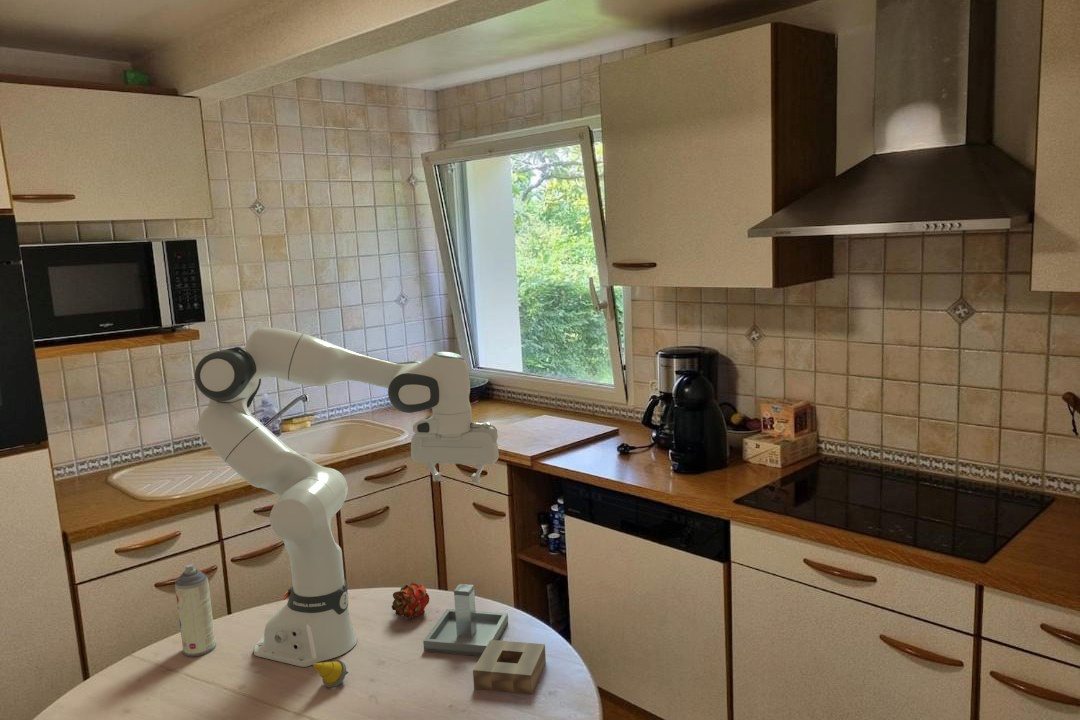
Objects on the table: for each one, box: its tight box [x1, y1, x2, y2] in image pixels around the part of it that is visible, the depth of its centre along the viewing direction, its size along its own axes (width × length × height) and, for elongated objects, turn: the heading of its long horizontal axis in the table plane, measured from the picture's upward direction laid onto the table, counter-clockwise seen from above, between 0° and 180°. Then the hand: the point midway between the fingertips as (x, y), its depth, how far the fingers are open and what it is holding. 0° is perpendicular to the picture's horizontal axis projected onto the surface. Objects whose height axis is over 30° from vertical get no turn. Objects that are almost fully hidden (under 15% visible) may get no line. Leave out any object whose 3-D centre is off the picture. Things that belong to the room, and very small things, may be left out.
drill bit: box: [312, 659, 349, 689], centre depth 162 cm, size 5×5×10 cm
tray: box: [422, 608, 509, 657], centre depth 180 cm, size 15×15×2 cm
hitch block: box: [472, 640, 547, 695], centre depth 163 cm, size 12×12×4 cm
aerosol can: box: [174, 563, 217, 658], centre depth 178 cm, size 7×7×20 cm
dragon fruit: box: [391, 581, 430, 620], centre depth 191 cm, size 8×8×12 cm
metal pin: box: [453, 583, 477, 638], centre depth 179 cm, size 4×4×11 cm
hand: (456, 481), depth 182 cm, fingers open, 8 cm apart
